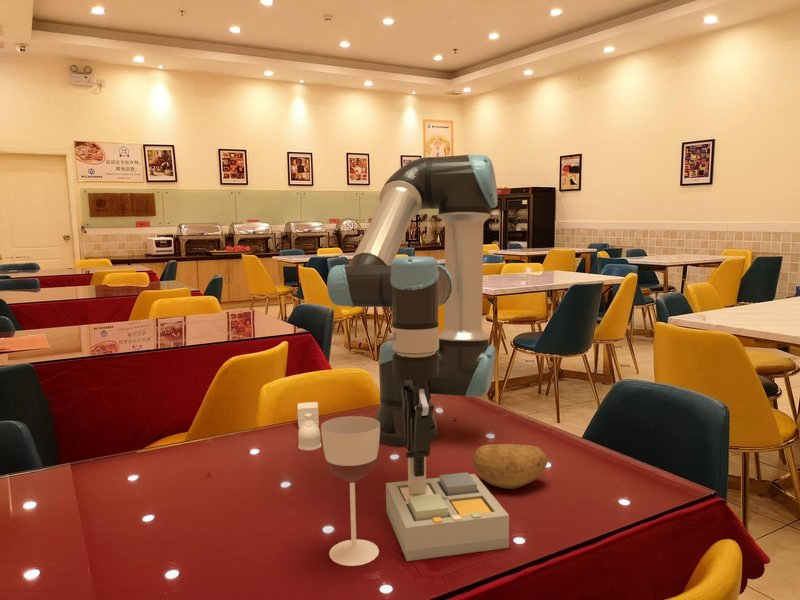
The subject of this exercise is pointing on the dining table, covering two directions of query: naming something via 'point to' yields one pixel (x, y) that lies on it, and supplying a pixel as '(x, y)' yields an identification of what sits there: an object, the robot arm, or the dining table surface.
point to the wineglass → (351, 474)
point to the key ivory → (406, 494)
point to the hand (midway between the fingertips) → (417, 491)
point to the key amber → (470, 507)
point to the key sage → (427, 507)
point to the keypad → (447, 524)
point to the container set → (308, 426)
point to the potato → (509, 464)
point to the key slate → (457, 484)
